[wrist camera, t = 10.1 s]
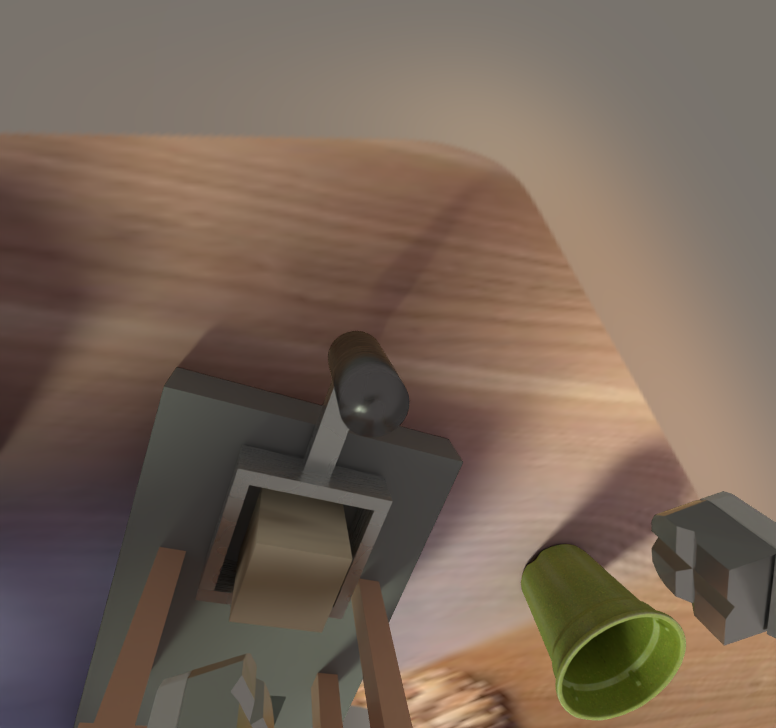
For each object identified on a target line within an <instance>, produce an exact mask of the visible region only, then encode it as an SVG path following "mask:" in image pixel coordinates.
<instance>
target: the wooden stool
mask: <svg viewBox="0 0 776 728" xmlns="http://www.w3.org/2000/svg"><path fill="white" fill-rule="evenodd" d="M185 553H186V551H183V550H176V549H170V548H164V547H159V550H158V552H157V555H156V558H155V560H154V563H153V566H152V568H151V571H150V574H149V576H148V579H147V582H146V585H145V587H144V590H143V593H142V595H141V598H140V601H139V603H138V606H137V609H136V611H135V614H134V617H133V619H132V622H131V625H130V627H129V630H128V633H127V635H126V638H125V641H124V643H123V646H122V649H121V651H120V654H119V657H118V659H117V662H116V665H115V667H114V670H113V673H112V676H111V678H110V681H109V684H108V686H107V689H106V692H105V694H104V697H103V700H102V702H101V705H100V708H99V710H98V713H97V716H96V718H95V721H94V723H79V725H78V728H147V726H136V725H135V723H136V720H137V716H138V713H139V709H140V706H141V703H142V699H143V696H144V692H145V689H146V686H147V682H148V679H149V675H150V672H151V669H152V665H153V662H154V658H155V655H156V652H157V648H158V645H159V641H160V638H161V635H162V631H163V628H164V624H165V621H166V618H167V614H168V611H169V607H170V604H171V601H172V597H173V594H174V591H175V587H176V584H177V580H178V577H179V574H180V570H181V567H182V563H183V560H184V557H185ZM351 602H352V608H353V615H354V621H355V628H356V635H357V641H358V648H359V655H360V661H361V668H362V675H363V681H364V688H365V695H366V701H367V708H368V714H369V721H370V728H412V723H411V719H410V715H409V710H408V706H407V701H406V697H405V693H404V688H403V684H402V680H401V675H400V671H399V667H398V662H397V658H396V654H395V649H394V645H393V640H392V636H391V632H390V627H389V623H388V619H387V614H386V610H385V606H384V601H383V597H382V593H381V588H380V584H379V582H378V581H372V580H366V579H359V581H358V583H357V585H356V588H355V590H354V592H353V595H352V597H351ZM311 700H312V724H313V728H343V724H342V714H341V703H340V693H339V683H338V675H336V674H326V673H317V675H316V678H315V680H314V682H313V685H312V687H311Z"/></svg>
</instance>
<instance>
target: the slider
mask: <svg viewBox="0 0 776 728" xmlns="http://www.w3.org/2000/svg"><path fill="white" fill-rule="evenodd" d="M328 364H329V368H330V372H331V377H332V381H331V384H330V387H329V389H328V392H327V395H326V398H325V400H324V403H323V406H322V409H321V411H320V414H319V417H318V420H317V422H316V425H315V428H314V431H313V433H312V436H311V439H310V442H309V444H308V447H307V450H306V453H305V455H304V458H300V457H295V456H291V455H286V454H282V453H278V452H273V451H269V450H265V449H260V448H256V447H252V446H247V445H242V448H241V451H240V454H239V457H238V460H237V463H236V466H235V469H234V472H233V476H232V479H231V482H230V485H229V488H228V491H227V494H226V497H225V500H224V503H223V507H222V510H221V513H220V516H219V519H218V522H217V525H216V528H215V531H214V534H213V538H212V541H211V544H210V547H209V550H208V553H207V556H206V559H205V562H204V565H203V569H202V573H201V577H200V582H199V586H198V590H197V594H196V599H195V600H198V601H206V602H213V603H221V604H229V605H231V604H232V597H233V590H234V583H235V576H236V569H237V562H238V561H232V560H225V556H226V553H227V550H228V547H229V544H230V541H231V538H232V535H233V532H234V529H235V526H236V523H237V520H238V517H239V514H240V511H241V508H242V505H243V502H244V499H245V496H246V493H247V490H248V487H249V485H252V486H257V487H262V488H267V489H272V490H276V491H281V492H286V493H291V494H296V495H301V496H306V497H311V498H315V499H320V500H325V501H330V502H335V503H340V504H345V505H350V506H354V507H359V508H358V510H357V512H356V515H355V517H354V520H353V522H352V525H351V527H350V529H349V532H348V536H349V542H350V548H351V554H352V559H353V560H352V562H351V564H350V567H349V569H348V571H347V574H346V576H345V579H344V581H343V583H342V586H341V588H340V590H339V593H338V595H337V598H336V600H335V602H334V605H333V607H332V610H331V612H330V614H329V618H337V619H342V618H343V616H344V613H345V611H346V609H347V606H348V604H349V602H350V599H351V597H352V595H353V592H354V590H355V588H356V585H357V583H358V581H359V578H360V576H361V574H362V571H363V569H364V567H365V564H366V562H367V560H368V557H369V555H370V553H371V550H372V548H373V546H374V544H375V541H376V539H377V537H378V534H379V532H380V530H381V527H382V525H383V523H384V520H385V518H386V516H387V513H388V511H389V509H390V506H391V504H392V502H393V501H392V498H391V495H390V492H389V489H388V486H387V483H386V480H385V477H383V476H378V475H374V474H369V473H365V472H361V471H356V470H352V469H348V468H343V467H339V466H335V465H336V462H337V460H338V457H339V454H340V452H341V449H342V447H343V444H344V441H345V439H346V436H347V434H348V431H349V429H350V430H351V431H352V432H354V433H356V434H358V435H360V436H364V437H379V436H383V435H386V434H388V433H390V432H392V431H393V430H395V429H396V428H397V427H398V426H399V425H400V424H401V423H402V422H403V420H404V419H405V417H406V415H407V412H408V409H409V395H408V392H407V390H406V388H405V386H404V384H403V383H402V381H401V379H400V378H399V376H398V374H397V373H396V371H395V369H394V368H393V366H392V364H391V363H390V361H389V359H388V358H387V356H386V354H385V353H384V351H383V349H382V348H381V346H380V344H379V343H378V341H377V340H376V339H375V338H374V337H373V336H371V335H370V334H368V333H365V332H362V331H351V332H347V333H344V334H342V335H341V336H339V337H338V338H337V339H336V340H335V341H334V342H333V343H332V345H331V347H330V349H329V352H328Z"/></svg>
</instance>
